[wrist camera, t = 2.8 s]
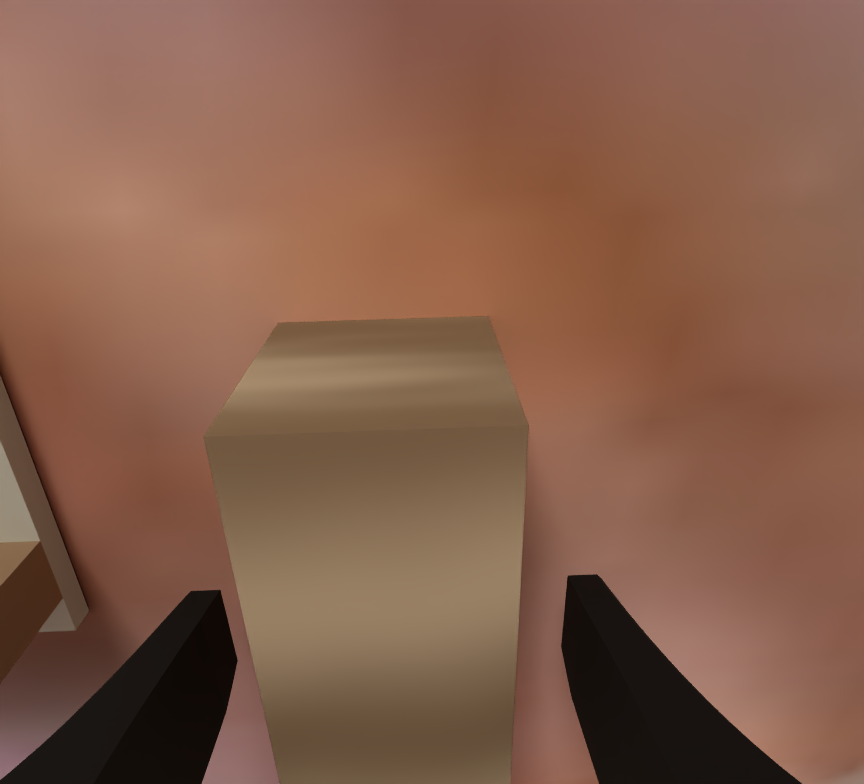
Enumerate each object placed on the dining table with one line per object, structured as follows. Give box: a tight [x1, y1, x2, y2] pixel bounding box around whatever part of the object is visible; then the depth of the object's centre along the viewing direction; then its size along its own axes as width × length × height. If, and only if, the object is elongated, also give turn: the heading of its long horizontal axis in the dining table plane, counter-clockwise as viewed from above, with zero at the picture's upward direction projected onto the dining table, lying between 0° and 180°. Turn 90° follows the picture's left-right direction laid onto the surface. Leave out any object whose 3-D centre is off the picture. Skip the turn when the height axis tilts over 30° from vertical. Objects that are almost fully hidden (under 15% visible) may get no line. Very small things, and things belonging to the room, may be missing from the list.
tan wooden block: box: [204, 316, 529, 784], centre depth 12 cm, size 12×4×5 cm, turn 1°
